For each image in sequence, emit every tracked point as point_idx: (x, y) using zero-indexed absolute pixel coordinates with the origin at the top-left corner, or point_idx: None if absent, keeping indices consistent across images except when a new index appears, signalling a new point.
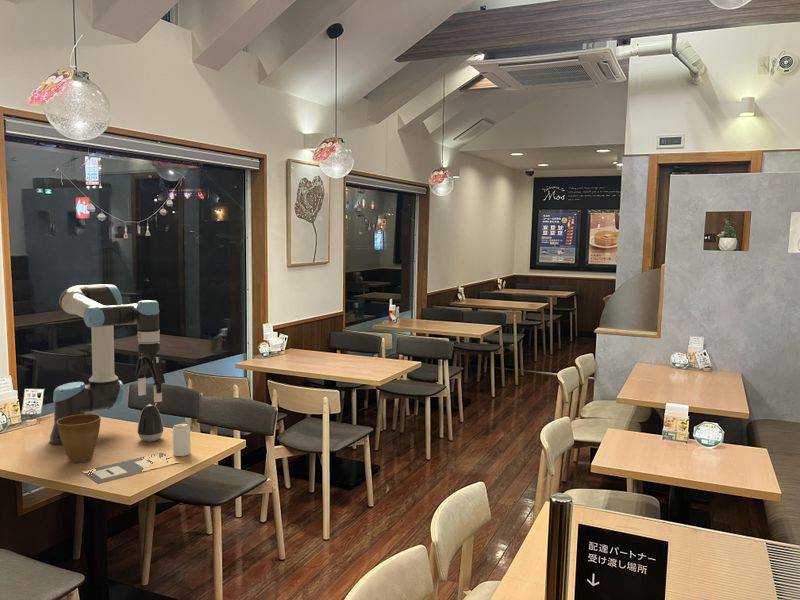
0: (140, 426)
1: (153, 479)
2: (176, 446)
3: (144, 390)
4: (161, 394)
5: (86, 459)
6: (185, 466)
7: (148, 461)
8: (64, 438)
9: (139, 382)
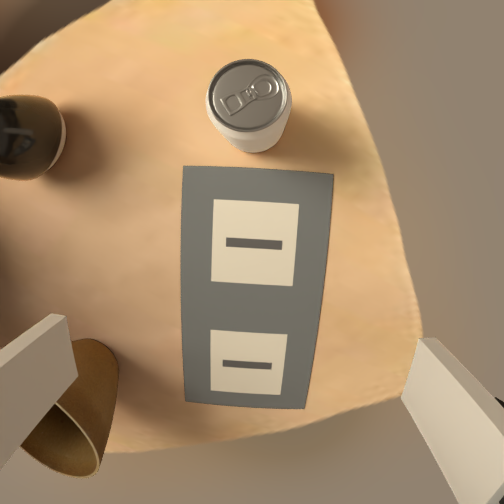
0: (16, 177)
1: (392, 306)
2: (266, 146)
3: (45, 350)
4: (467, 376)
5: (116, 366)
6: (373, 183)
7: (242, 246)
8: (90, 445)
9: (9, 449)
